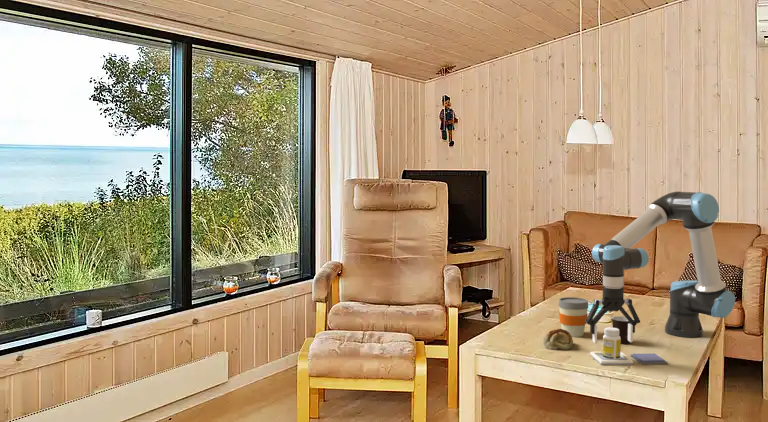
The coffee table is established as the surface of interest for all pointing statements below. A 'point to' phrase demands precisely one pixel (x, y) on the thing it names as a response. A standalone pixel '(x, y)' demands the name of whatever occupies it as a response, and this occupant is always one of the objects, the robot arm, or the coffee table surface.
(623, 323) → the coffee mug
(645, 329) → the coffee table surface
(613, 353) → the supplement bottle
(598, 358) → the picture frame
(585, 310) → the reusable coffee cup
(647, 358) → the ink pad
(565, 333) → the pastry
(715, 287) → the robot arm
